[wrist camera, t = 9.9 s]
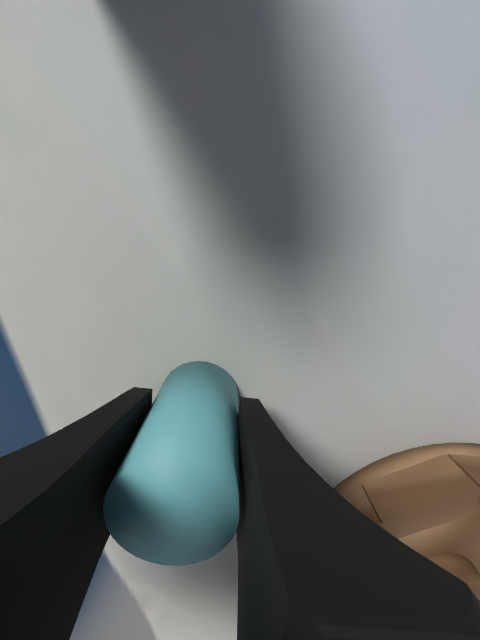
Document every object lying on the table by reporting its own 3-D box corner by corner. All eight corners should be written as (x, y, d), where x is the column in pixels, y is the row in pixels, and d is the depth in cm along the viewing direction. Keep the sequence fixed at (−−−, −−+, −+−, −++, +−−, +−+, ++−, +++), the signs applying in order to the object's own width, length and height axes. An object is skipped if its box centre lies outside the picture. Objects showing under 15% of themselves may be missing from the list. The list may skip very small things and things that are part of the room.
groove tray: (620, 456, 12) (716, 509, 10) (511, 656, 16) (562, 732, 13) (320, 429, 12) (342, 478, 9) (275, 642, 15) (282, 718, 13)
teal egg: (242, 365, 11) (246, 465, 6) (234, 433, 12) (231, 569, 7) (163, 357, 11) (101, 452, 6) (160, 426, 11) (103, 560, 7)
